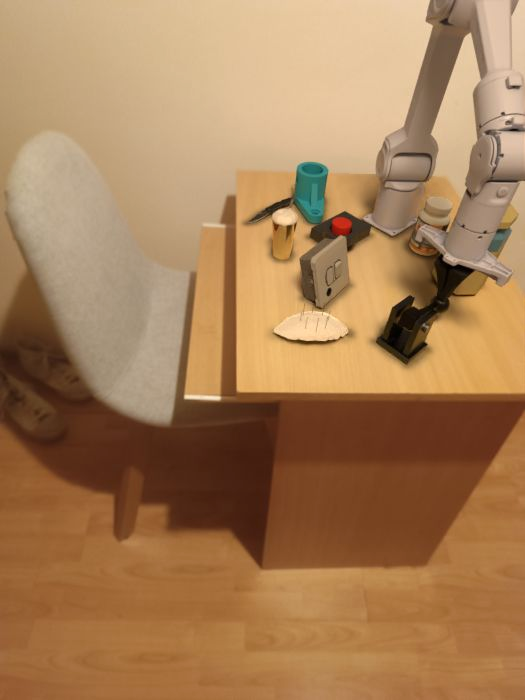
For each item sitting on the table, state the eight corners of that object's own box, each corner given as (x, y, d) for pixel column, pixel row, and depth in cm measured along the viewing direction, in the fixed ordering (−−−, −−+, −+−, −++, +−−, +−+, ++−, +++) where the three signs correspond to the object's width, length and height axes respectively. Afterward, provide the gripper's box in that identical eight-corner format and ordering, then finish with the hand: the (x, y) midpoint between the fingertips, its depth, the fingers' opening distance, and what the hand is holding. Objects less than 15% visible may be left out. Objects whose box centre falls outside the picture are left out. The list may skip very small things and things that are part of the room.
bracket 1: (320, 192, 103) (325, 161, 98) (331, 223, 95) (337, 191, 90) (291, 193, 102) (294, 161, 97) (299, 223, 95) (303, 191, 89)
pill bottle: (421, 260, 88) (438, 213, 81) (402, 243, 92) (417, 198, 84) (444, 252, 90) (462, 207, 83) (424, 237, 94) (440, 191, 86)
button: (339, 223, 89) (341, 215, 88) (353, 231, 87) (355, 223, 86) (326, 229, 87) (328, 221, 86) (341, 238, 86) (343, 230, 84)
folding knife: (250, 223, 93) (243, 219, 94) (250, 228, 94) (243, 223, 95) (295, 199, 99) (289, 195, 100) (295, 203, 100) (288, 199, 101)
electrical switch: (320, 311, 78) (324, 264, 71) (295, 299, 80) (296, 253, 74) (349, 284, 83) (355, 238, 76) (325, 274, 85) (328, 228, 79)
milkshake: (298, 249, 89) (304, 202, 81) (287, 265, 85) (293, 217, 78) (277, 243, 90) (280, 195, 83) (265, 257, 87) (268, 210, 79)
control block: (343, 220, 97) (346, 202, 94) (376, 239, 92) (380, 221, 89) (305, 239, 91) (307, 221, 88) (338, 261, 87) (342, 243, 84)
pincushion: (274, 348, 72) (277, 321, 67) (272, 320, 76) (274, 293, 71) (351, 347, 72) (358, 321, 68) (344, 319, 76) (351, 293, 72)
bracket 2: (394, 328, 76) (408, 291, 70) (425, 349, 73) (442, 313, 67) (375, 342, 73) (387, 306, 68) (406, 364, 70) (422, 328, 65)
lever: (432, 304, 77) (440, 289, 75) (447, 314, 76) (456, 298, 74) (394, 323, 69) (402, 307, 68) (410, 334, 68) (419, 318, 66)
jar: (482, 304, 81) (521, 229, 70) (428, 291, 82) (459, 216, 71) (482, 273, 87) (519, 200, 76) (432, 261, 88) (461, 188, 77)
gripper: (415, 208, 65) (390, 284, 75) (511, 258, 58) (470, 334, 68) (443, 192, 68) (416, 267, 78) (537, 238, 61) (494, 313, 71)
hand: (442, 297), depth 73 cm, fingers closed, pressing on lever
